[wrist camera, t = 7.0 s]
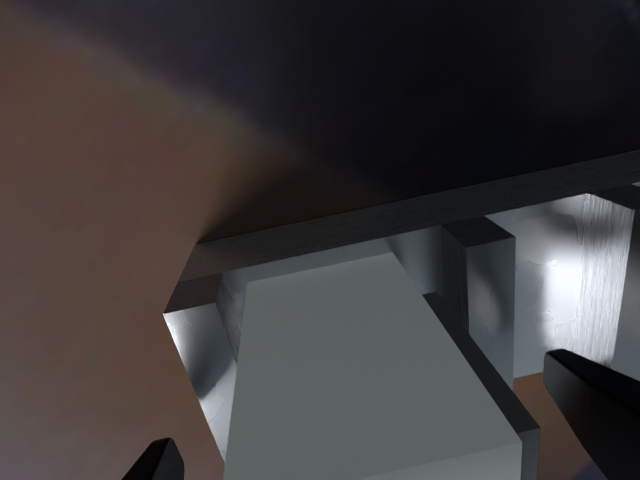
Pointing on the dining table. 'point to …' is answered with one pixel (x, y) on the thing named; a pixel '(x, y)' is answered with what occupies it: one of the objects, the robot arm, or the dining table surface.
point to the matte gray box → (368, 385)
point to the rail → (449, 271)
